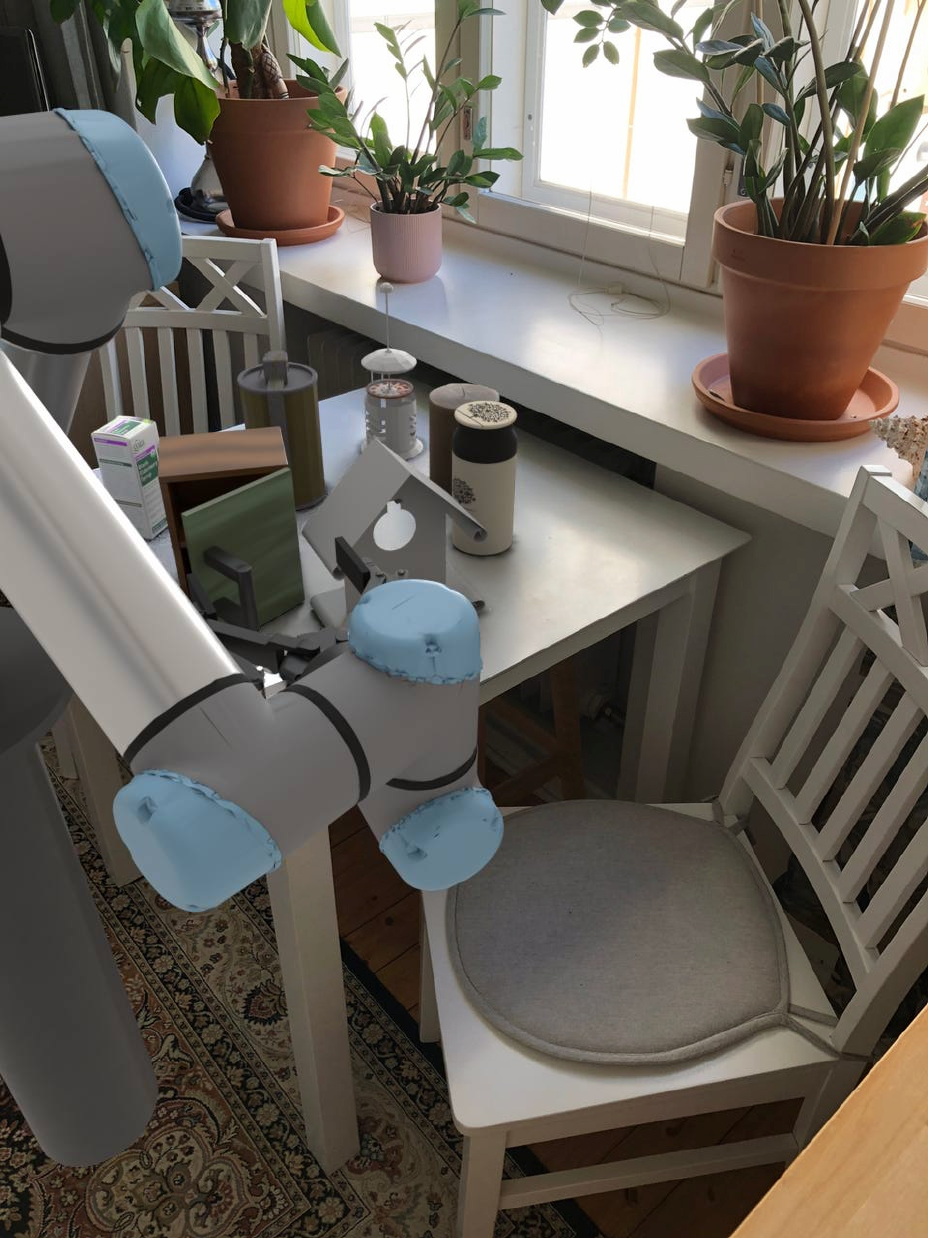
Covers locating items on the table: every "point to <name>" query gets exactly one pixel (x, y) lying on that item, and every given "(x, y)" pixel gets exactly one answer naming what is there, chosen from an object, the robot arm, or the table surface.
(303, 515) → the table surface
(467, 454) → the travel mug
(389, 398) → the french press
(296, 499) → the canister
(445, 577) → the grey house-shaped piece
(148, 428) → the syrup box
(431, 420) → the pillar candle
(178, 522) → the compartment
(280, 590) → the door
